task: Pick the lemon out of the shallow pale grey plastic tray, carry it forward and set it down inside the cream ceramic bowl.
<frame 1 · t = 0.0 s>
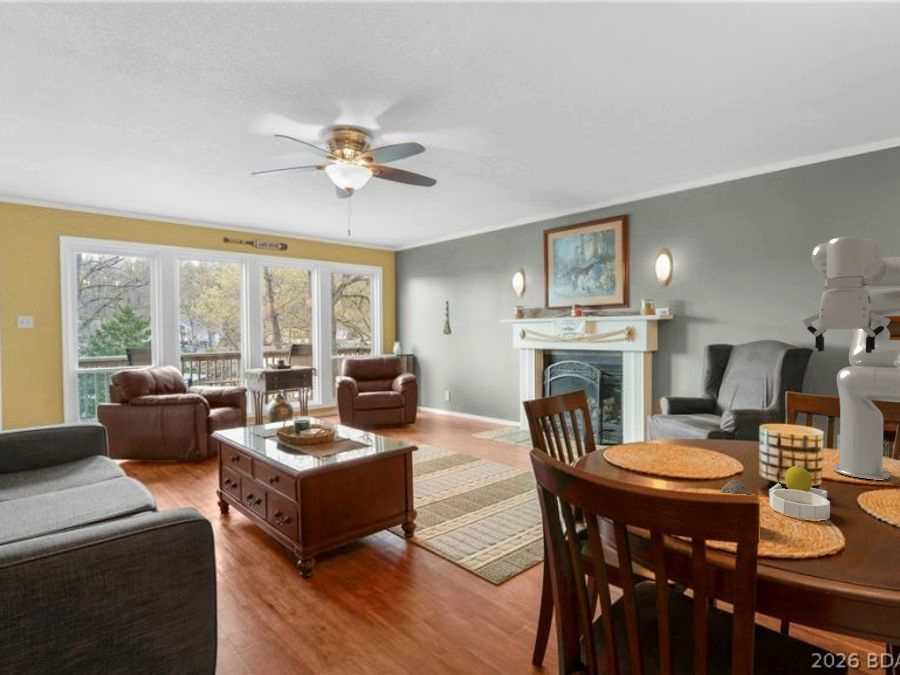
hand: (844, 352, 122), 37 cm above the table, tool pointing down, fingers open, 9 cm apart
decorative egg: (735, 525, 104), on the table
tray: (797, 496, 121), on the table
bowl: (798, 511, 111), on the table
lemon: (797, 497, 121), resting in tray
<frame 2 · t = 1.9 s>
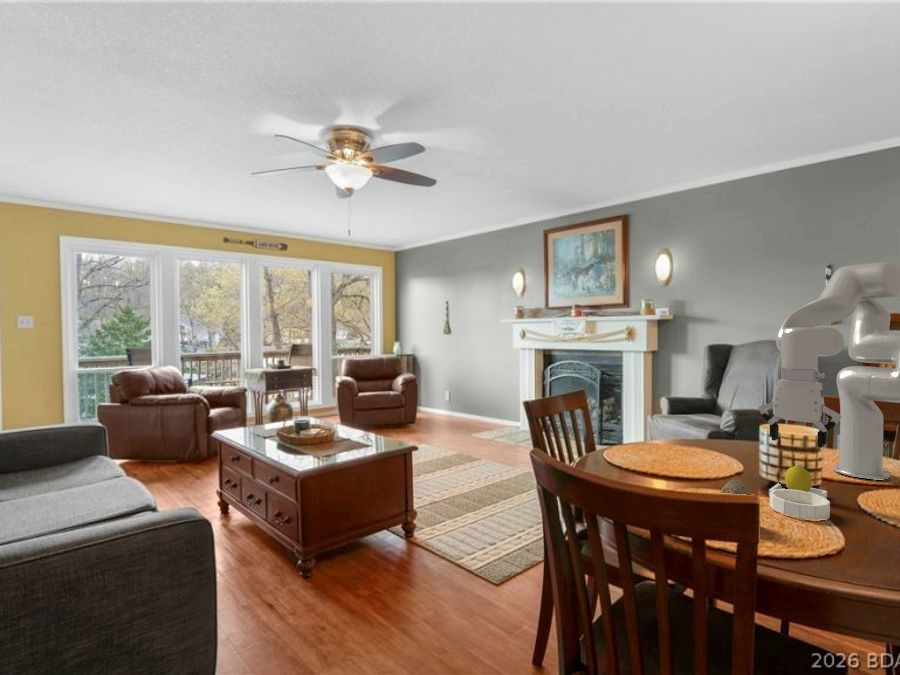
hand: (797, 443, 121), 14 cm above the table, tool pointing down, fingers open, 9 cm apart
nothing on the table moved.
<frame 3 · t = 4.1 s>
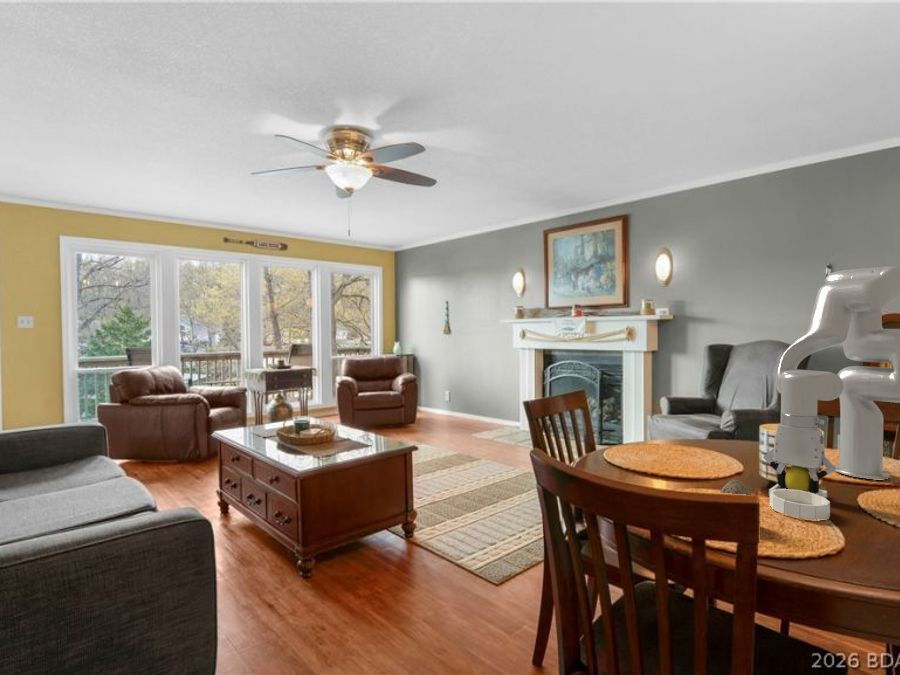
hand: (797, 491, 121), 1 cm above the table, tool pointing down, fingers closed on lemon, 5 cm apart
lemon: (797, 497, 121), resting in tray, touching gripper
everything else where it was.
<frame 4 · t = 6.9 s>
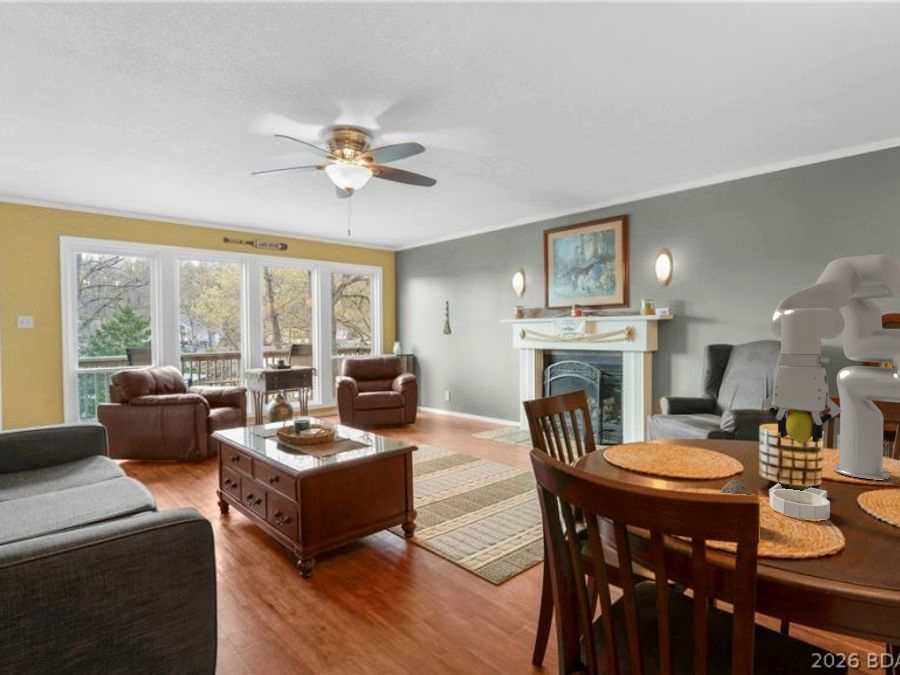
hand: (799, 438, 111), 17 cm above the table, tool pointing down, fingers closed on lemon, 5 cm apart
lemon: (799, 444, 111), point 16 cm above the table, touching gripper
everything else where it was.
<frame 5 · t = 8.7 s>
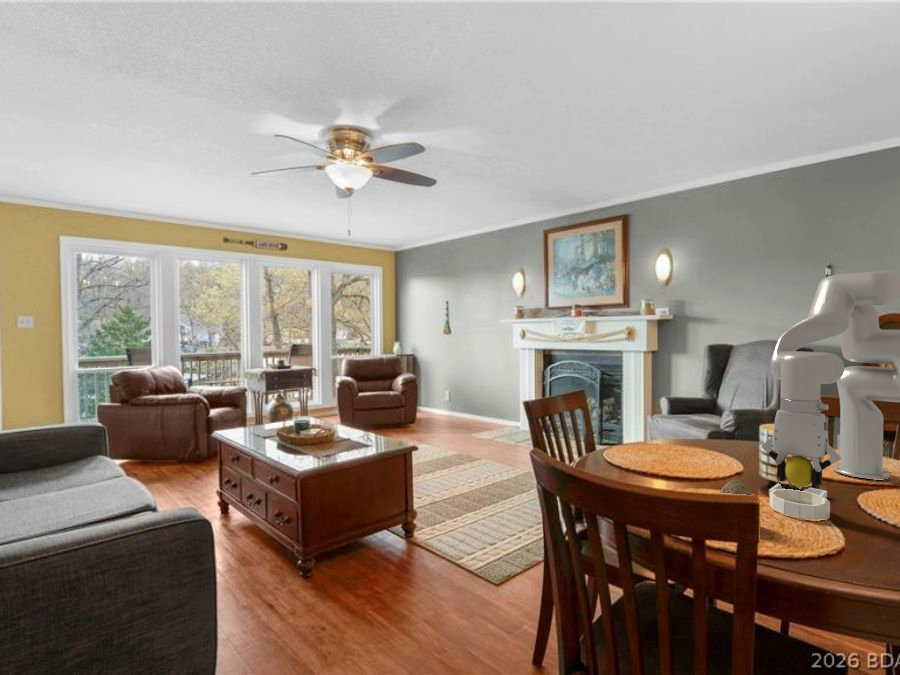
hand: (799, 483, 111), 7 cm above the table, tool pointing down, fingers closed on lemon, 5 cm apart
lemon: (798, 489, 111), point 5 cm above the table, touching gripper
everything else where it was.
when the fingers open (4 cm above the table, at t = 10.2 s): lemon drops 2 cm, resting on bowl.
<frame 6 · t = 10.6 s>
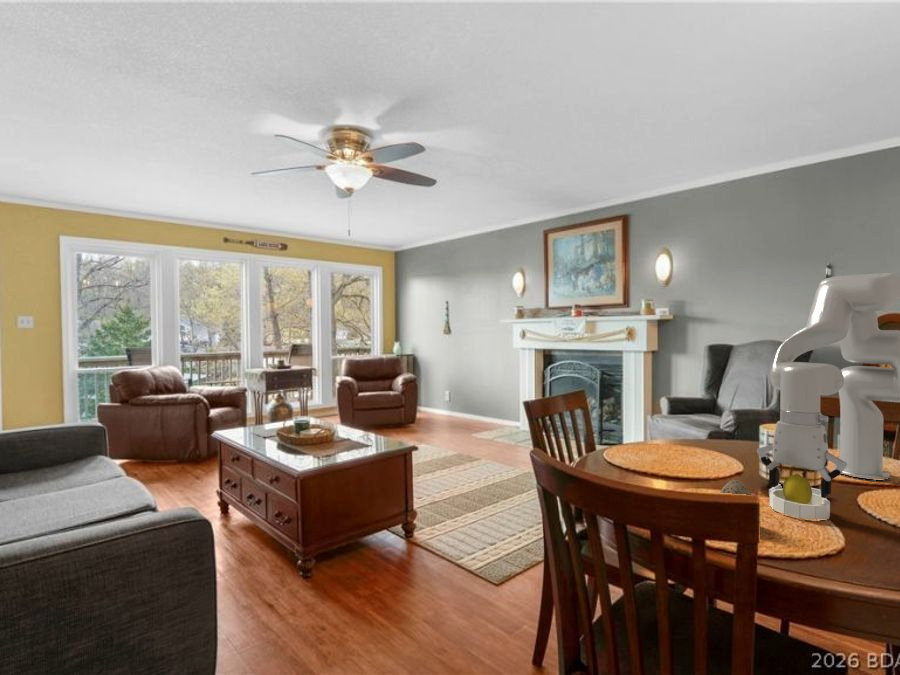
hand: (799, 491, 111), 5 cm above the table, tool pointing down, fingers open, 9 cm apart
lemon: (797, 508, 112), point 1 cm above the table, touching bowl
everything else where it was.
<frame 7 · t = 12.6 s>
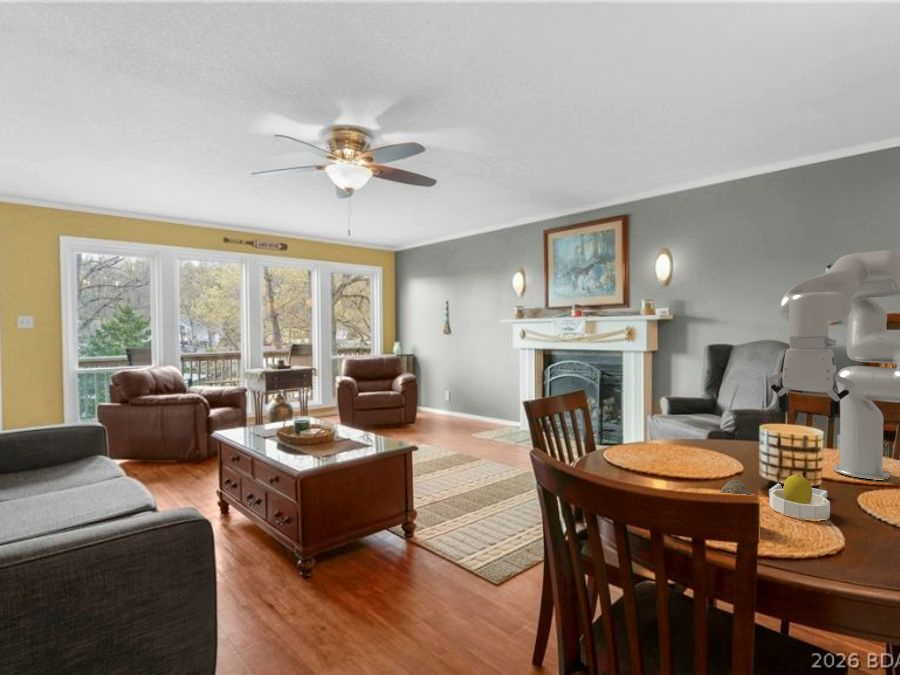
hand: (808, 414, 116), 22 cm above the table, tool pointing down, fingers open, 9 cm apart
nothing on the table moved.
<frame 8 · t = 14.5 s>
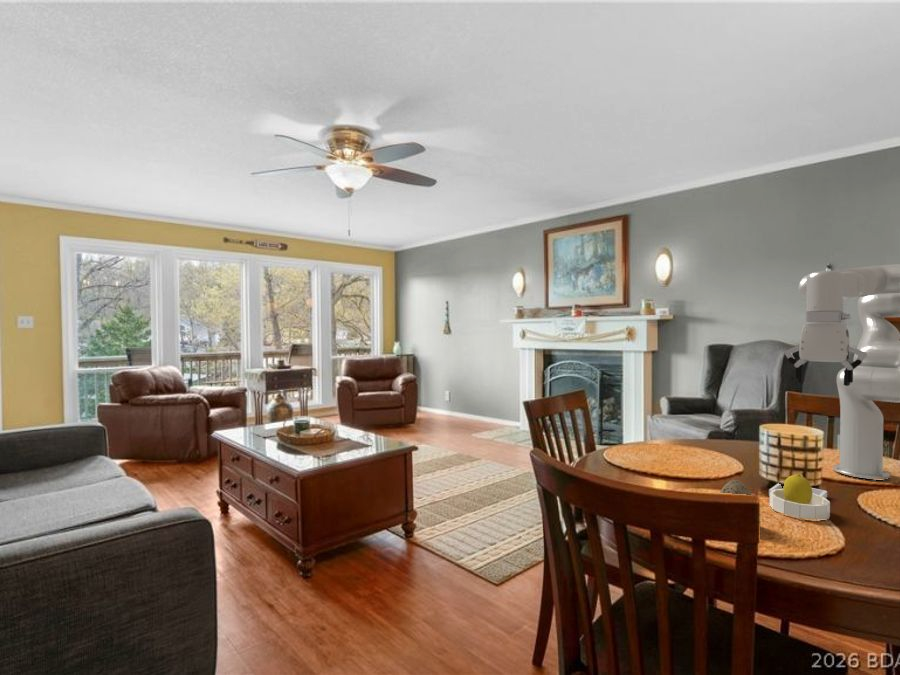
hand: (823, 383, 125), 28 cm above the table, tool pointing down, fingers open, 9 cm apart
nothing on the table moved.
at the end: lemon 0.3 cm off-centre on the bowl, point 0.6 cm above the bowl's base; the gripper is holding nothing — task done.
